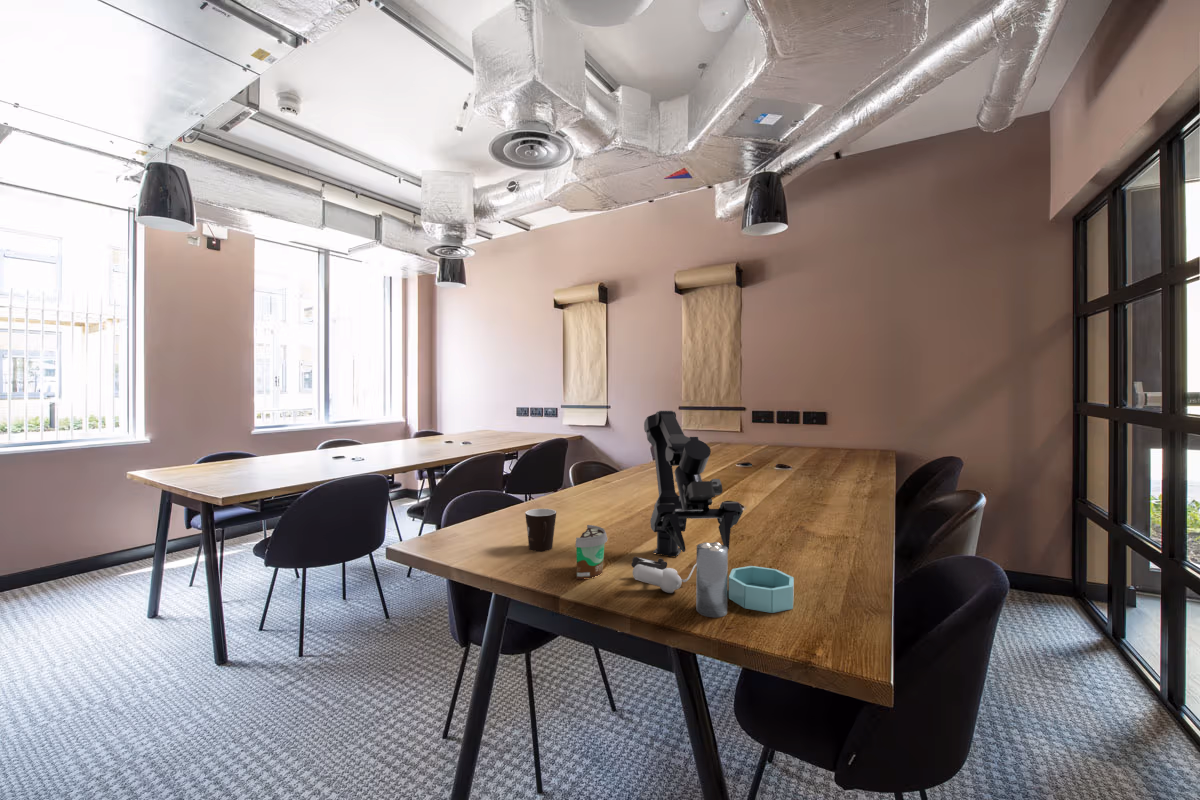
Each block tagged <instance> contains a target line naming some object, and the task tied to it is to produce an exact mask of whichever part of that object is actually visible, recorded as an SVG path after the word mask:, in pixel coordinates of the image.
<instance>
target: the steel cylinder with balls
mask: <svg viewBox="0 0 1200 800" xmlns="http://www.w3.org/2000/svg"><path fill="white" fill-rule="evenodd" d="M728 551H729V549H728V548H727V547H726V546H724V545H723V544H721V543H720V542H718V541H715V542H714V541H713V542H702V543H699V544H697V545H696V563H697V566H696V573H695V574H696V577H695V578H696V585H695V586H696V590H695V591H696V594H695V599H696V601H695V604H696V606H695V607H696V612H697V613H698V614H700V615H701V616H704V617H708V618H713V619H714V618H716V619H717V618H722V617H725V616H727V614H728V564H729V563H728V558H729V557H728V556H729V555H728Z"/></svg>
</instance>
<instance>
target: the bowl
mask: <svg viewBox="0 0 1200 800" xmlns="http://www.w3.org/2000/svg"><path fill="white" fill-rule="evenodd" d="M794 580H795V577H794V576H792V575H789V574H787V573H785V572H783V571H781V570H779V569H776V568H770V567H769V568H768V567H762V566H754V565H748V566H742V567H737V568H732V569H731V571H730V573H729V576H728V599H729V600H731V601H733V602H734V603H735V604H737V605H738V606H740V607H742V608H743V609H748V610H753V611H758V612H765V613H770V614H771V613H772V614H774V613H775V614H776V613H779V612H784V611H789V610H793V609H794V597H795V596H794V591H795V589H794V586H795V585H794V582H795V581H794Z"/></svg>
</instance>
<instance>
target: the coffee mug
mask: <svg viewBox="0 0 1200 800" xmlns="http://www.w3.org/2000/svg"><path fill="white" fill-rule="evenodd" d="M524 515H525V523H526V531H527V541H528V550H530V551H532V552H538V553H539V552H547V551H551V550H552V549H553V543H554V536H555V535H554V534H555V526H556V520H557V519H556V518H557V511H556V509H552V508H533V509H529V510H527V511H525V513H524Z"/></svg>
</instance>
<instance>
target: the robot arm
mask: <svg viewBox="0 0 1200 800" xmlns="http://www.w3.org/2000/svg"><path fill="white" fill-rule="evenodd" d="M643 429H644V433H646V439H647V441H648V442H649V444H650V445H651V447H653V452H654V453H653V454H654V461H655V462H654V463H655V472H656V481H657V490H658V497H657V500H656V502H655V504H654V507H653V508H654V509H653V510H652V511H653V512H652V514H651V517H650V529H651V530H652V531H653V532H654V533H656V548H655V549H654V550H653V551H652V554H653V553H656V554H655V555H657V554H662V555H661V556H664V555H668V556H667V557H671V556H677V555H678V556H679V555H680V554H681V552H682V553H685V551H686V543H685V540H684V536H683V532H686V528H687V522H688V519H693V520H694V519H695V520H696V519H699V520H700V519H716V520H717V523H718V524H719V525H718V531H719V534H720V538H721V541H722V545H724V546H726V547H727V548H728V550H730V541H731V540H730V539H731V530H732V528H733V527H734V526H735V525H738V522H739V521H740V519H741V517H742V515H743V513H744V511H743V510H744V509H743V507H742V504H741V503H739V502H738V501H722V502H721V503H720V506H719V508H710V506H712V504H713V500H712V499H713V498H715V497H716V496H719V495H721V494H722V493H723V485H722V481H721V479H720V478H712V479H711V480H710V481H709V480H705V481H704V480H703V479H702V476H701V474H703V473H704V472H705V469H706V466H707V464H708V461H709V458H710V456H711V448H710V446H709V445H708V444H707V443H705V442H704V441H703V440H700V439H699V437H698V436H689V437H688V436H686V435H685V433H684V431H683V429H682V427H681V426H680V423H679V421H678V419H677V413H676V411H673V410H658V411H656V412H655V413H654V414H651V415H649V416H647V417H646V418H645V420H644V423H643ZM673 467H676V468H675V469H674V471H673ZM674 476H675V478H674ZM675 482H676V485H677V490H678V494H677V492H676V487H675V486H676V485H675ZM681 550H682V551H681ZM678 556H677V557H678Z"/></svg>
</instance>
